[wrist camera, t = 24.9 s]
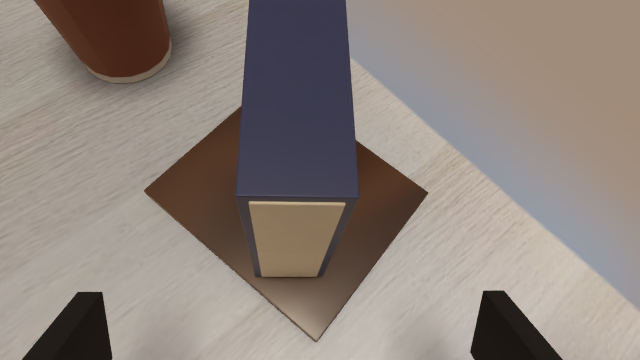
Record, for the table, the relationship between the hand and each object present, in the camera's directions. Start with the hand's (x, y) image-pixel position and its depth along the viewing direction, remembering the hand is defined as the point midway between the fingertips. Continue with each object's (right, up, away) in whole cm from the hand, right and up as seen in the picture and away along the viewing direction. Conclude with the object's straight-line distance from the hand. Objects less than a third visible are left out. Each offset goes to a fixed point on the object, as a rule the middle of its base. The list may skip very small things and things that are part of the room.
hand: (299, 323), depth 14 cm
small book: (-1, +4, +12) cm, 13 cm away
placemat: (-1, +4, +12) cm, 13 cm away
